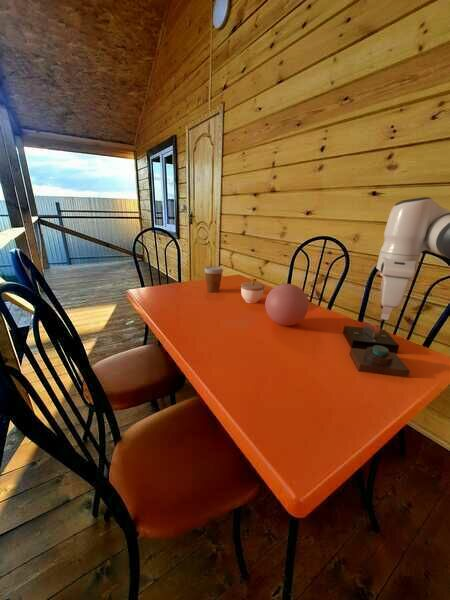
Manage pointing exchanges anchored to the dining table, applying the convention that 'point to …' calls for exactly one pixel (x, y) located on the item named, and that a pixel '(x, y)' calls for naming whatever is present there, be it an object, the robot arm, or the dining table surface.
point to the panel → (369, 339)
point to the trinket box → (252, 291)
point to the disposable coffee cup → (213, 278)
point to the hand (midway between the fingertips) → (384, 313)
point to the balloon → (286, 304)
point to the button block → (378, 363)
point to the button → (380, 351)
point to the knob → (371, 329)
